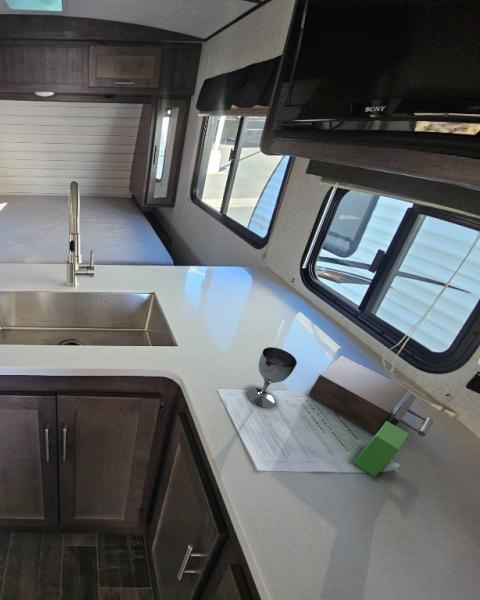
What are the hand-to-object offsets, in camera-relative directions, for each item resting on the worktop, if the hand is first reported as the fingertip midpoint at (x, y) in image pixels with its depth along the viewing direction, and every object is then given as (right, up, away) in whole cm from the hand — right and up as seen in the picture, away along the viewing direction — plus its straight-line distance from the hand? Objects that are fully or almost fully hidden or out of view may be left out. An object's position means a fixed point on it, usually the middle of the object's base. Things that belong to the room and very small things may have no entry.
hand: (475, 390), depth 69 cm
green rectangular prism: (-18, -18, +5) cm, 26 cm away
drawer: (-7, -11, +17) cm, 21 cm away
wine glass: (-35, -8, +21) cm, 42 cm away
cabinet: (-10, -9, +21) cm, 25 cm away
